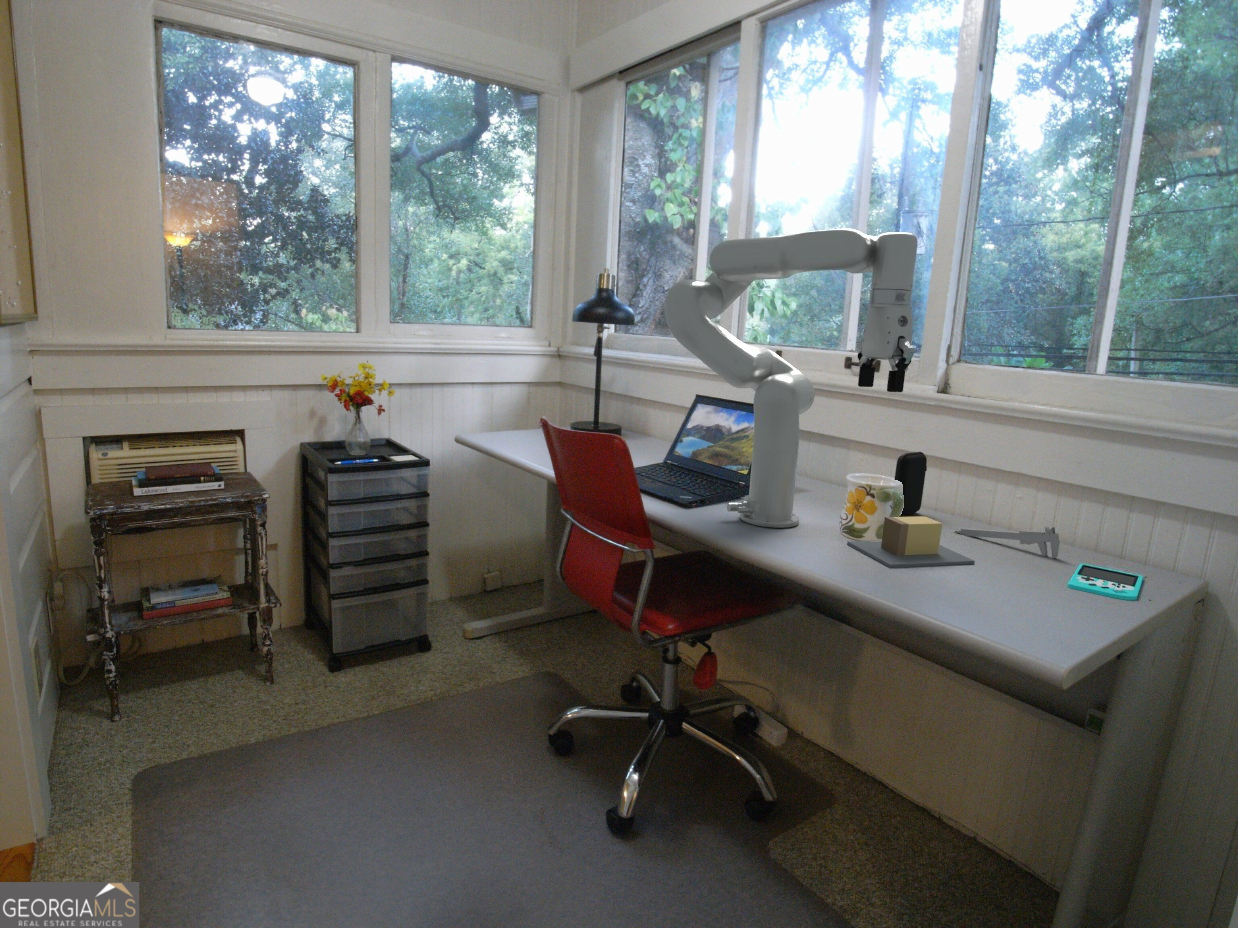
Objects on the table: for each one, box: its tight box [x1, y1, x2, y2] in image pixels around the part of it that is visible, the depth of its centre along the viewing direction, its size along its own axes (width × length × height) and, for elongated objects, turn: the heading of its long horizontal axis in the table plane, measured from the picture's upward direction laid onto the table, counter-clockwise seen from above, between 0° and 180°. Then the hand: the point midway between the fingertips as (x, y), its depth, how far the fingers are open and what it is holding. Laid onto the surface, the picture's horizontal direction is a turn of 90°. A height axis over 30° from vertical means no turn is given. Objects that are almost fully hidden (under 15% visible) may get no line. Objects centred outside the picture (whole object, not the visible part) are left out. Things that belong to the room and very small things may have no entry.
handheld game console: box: [1067, 563, 1144, 601], centre depth 131 cm, size 10×16×1 cm, turn 142°
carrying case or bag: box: [894, 451, 928, 517], centre depth 171 cm, size 11×3×15 cm, turn 126°
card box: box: [881, 515, 943, 556], centre depth 142 cm, size 5×9×6 cm, turn 105°
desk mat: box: [846, 540, 976, 569], centre depth 142 cm, size 18×14×1 cm
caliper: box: [954, 526, 1060, 559], centre depth 151 cm, size 20×1×6 cm, turn 37°
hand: (879, 389), depth 146 cm, fingers open, 9 cm apart
